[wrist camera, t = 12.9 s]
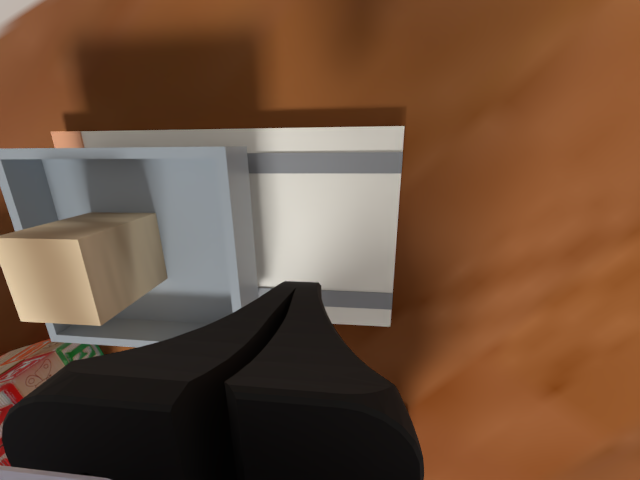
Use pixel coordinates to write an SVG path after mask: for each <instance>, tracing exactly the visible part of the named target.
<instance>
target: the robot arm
mask: <svg viewBox="0 0 640 480" xmlns="http://www.w3.org/2000/svg"><path fill="white" fill-rule="evenodd" d="M2 443H3V447H4V450H5V454H6V456H7V459H8V461H9V463H10V465H11V467H10V466H1V465H0V480H423V478H424V464H423V456H422V451H421V447H420V444H419V441H418V438H417V435H416V432H415V429H414V426H413V423H412V421H411V418H410V416H409V414H408V411H407V409H406V406H405V404H404V402H403V400H402V398H401V396H400V394H399V392H398V390H397V388H396V386H395V385H394V384H392V383H391V382H390V381H388V380H387V379H385V378H384V377H382V376H381V375H379V374H378V373H376V372H375V371H374V370H372V369H371V368H369V367H368V366H367V365H366V364H365V363H364V362H362V361H361V360H360V359H359V358H358V357H357V356H356V355H355V354H354V353H353V352H352V350H351V349H350V348H349V347H348V346H347V345H346V344H345V342H344V341H343V340H342V338H341V337H340V336H339V334H338V333H337V331H336V330H335V328H334V326H333V324H332V323H331V321H330V319H329V317H328V315H327V312H326V310H325V307H324V304H323V302H322V293H321V285H320V284H319V282H296V281H284V282H282V283H280V284H279V285H277V286H276V287H274V288H273V289H271V290H270V291H268V292H267V293H265V294H263V295H262V296H260V297H259V298H257V299H256V300H254V301H252V302H251V303H249V304H247V305H245V306H244V307H242V308H240V309H239V310H237V311H235V312H233V313H231V314H229V315H228V316H225V317H223V318H221V319H219V320H217V321H215V322H213V323H210V324H208V325H206V326H203V327H201V328H198V329H195V330H193V331H190V332H187V333H184V334H181V335H179V336H176V337H173V338H170V339H167V340H163V341H160V342H156V343H153V344H149V345H145V346H142V347H138V348H134V349H130V350H125V351H121V352H116V353H111V354H106V355H101V356H96V357H90V358H85V359H80V360H74V361H71V362H70V363H68V364H67V365H66V366H64V367H63V368H62V369H60V370H59V371H58V372H57V373H55V374H54V375H53V376H51V377H50V378H49V379H48V380H46V381H45V382H44V383H42V384H41V385H40V386H39V387H37V388H36V389H35V390H33V391H32V392H31V393H29V394H28V395H27V396H25V397H24V398H23V399H21V400H20V401H19V402H18V403H16V404H15V405H14V406H13V407H11V408H10V409H9V411H8V413H7V415H6V417H5V419H4V421H3V426H2Z"/></svg>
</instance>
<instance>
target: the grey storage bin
mask: <svg viewBox="0 0 640 480" xmlns="http://www.w3.org/2000/svg"><path fill="white" fill-rule="evenodd" d="M0 187H1V190H2V193H3V196H4V199H5V202H6V205H7V208H8V211H9V214H10V217H11V220H12V223H13V226H14V230H15V231H19V230H23V229H27V228H31V227H35V226H39V225H43V224H47V223H51V222H55V221H59V220H62V219H66V218H70V217H74V216H78V215H82V214H86V213H90V212H111V213H156V217H157V222H158V228H159V233H160V239H161V244H162V250H163V255H164V261H165V266H166V272H167V277H168V278H167V279H166V280H165V281H163V282H162V283H160V284H159V285H158V286H156V287H155V288H153V289H152V290H151V291H149V292H148V293H146V294H145V295H144V296H142V297H141V298H139V299H138V300H137V301H135V302H134V303H132V304H131V305H130V306H128V307H127V308H125V309H124V310H123V311H121V312H120V313H118V314H117V315H116V316H114V317H113V318H111V319H110V320H108V321H107V322H106V323H104V324H103V325H101V326H94V325H76V324H58V323H45V324H46V327H47V330H48V333H49V336H50V339H51V342H64V343H79V344H94V345H109V346H124V347H142V346H145V345H149V344H153V343H156V342H160V341H163V340H167V339H170V338H173V337H176V336H179V335H181V334H184V333H187V332H190V331H193V330H195V329H198V328H201V327H203V326H206V325H208V324H210V323H213V322H215V321H217V320H219V319H221V318H223V317H225V316H228V315H229V314H231V313H233V312H235V311H237V310H239V309H240V308H242V307H244V306H245V305H247V304H249V303H251V302H252V301H254V300H256V299H257V298H259V295H258V283H257V270H256V257H255V245H254V232H253V220H252V207H251V194H250V182H249V169H248V157H247V146H225V147H124V148H23V149H0Z"/></svg>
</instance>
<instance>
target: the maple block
mask: <svg viewBox="0 0 640 480" xmlns="http://www.w3.org/2000/svg"><path fill="white" fill-rule="evenodd" d="M0 265H1V268H2V270H3V273H4V276H5V279H6V282H7V284H8V287H9V290H10V293H11V295H12V298H13V301H14V304H15V307H16V309H17V312H18V315H19V318H20V320H21V321H22V322H40V323H58V324H76V325H94V326H101V325H103V324H104V323H106V322H107V321H108V320H110V319H111V318H113V317H114V316H116V315H117V314H118V313H120V312H121V311H123V310H124V309H125V308H127V307H128V306H130V305H131V304H132V303H134V302H135V301H137V300H138V299H139V298H141V297H142V296H144V295H145V294H146V293H148V292H149V291H151V290H152V289H153V288H155V287H156V286H158V285H159V284H160V283H162V282H163V281H165V280H166V279H167V278H168V277H167V272H166V266H165V261H164V255H163V250H162V244H161V239H160V233H159V228H158V222H157V217H156V213H111V212H90V213H86V214H82V215H78V216H74V217H70V218H66V219H62V220H59V221H55V222H51V223H47V224H43V225H39V226H35V227H31V228H27V229H23V230H19V231H15V232H11V233H8V234H4V235H0Z"/></svg>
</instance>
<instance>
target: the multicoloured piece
mask: <svg viewBox="0 0 640 480" xmlns="http://www.w3.org/2000/svg"><path fill="white" fill-rule="evenodd" d="M101 355H104V354H103V352H102V351H101V349H100V347H99V346H98V345H94V344H79V343H64V342H51V339H47V340H44V341H41V342H38V343H35V344H32V345H29V346H25V347H22V348H19V349H16V350H13V351H10V352H8V353H6V354H4V355H2V356H0V465H1V466H10V467H11V465H10V463H9V461H8V459H7V456H6V454H5V450H4V447H3V443H2V426H3V421H4V419H5V417H6V415H7V413H8V411H9V409H10V408H11V407H13V406H14V405H15V404H16V403H18V402H19V401H20V400H21V399H23V398H24V397H25V396H27V395H28V394H29V393H31V392H32V391H33V390H35V389H36V388H37V387H39V386H40V385H41V384H42V383H44V382H45V381H46V380H48V379H49V378H50V377H51V376H53V375H54V374H55V373H57V372H58V371H59V370H60V369H62V368H63V367H64V366H66V365H67V364H68V363H70V362H71V361H74V360H80V359H85V358H90V357H96V356H101Z"/></svg>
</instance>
